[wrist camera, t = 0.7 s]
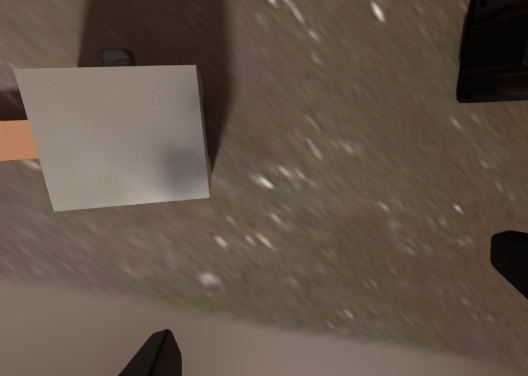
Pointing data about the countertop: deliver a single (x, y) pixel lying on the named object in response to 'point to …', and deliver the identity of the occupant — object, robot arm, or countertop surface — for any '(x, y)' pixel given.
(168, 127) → the grey cube with knob
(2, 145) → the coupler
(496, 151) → the countertop surface
